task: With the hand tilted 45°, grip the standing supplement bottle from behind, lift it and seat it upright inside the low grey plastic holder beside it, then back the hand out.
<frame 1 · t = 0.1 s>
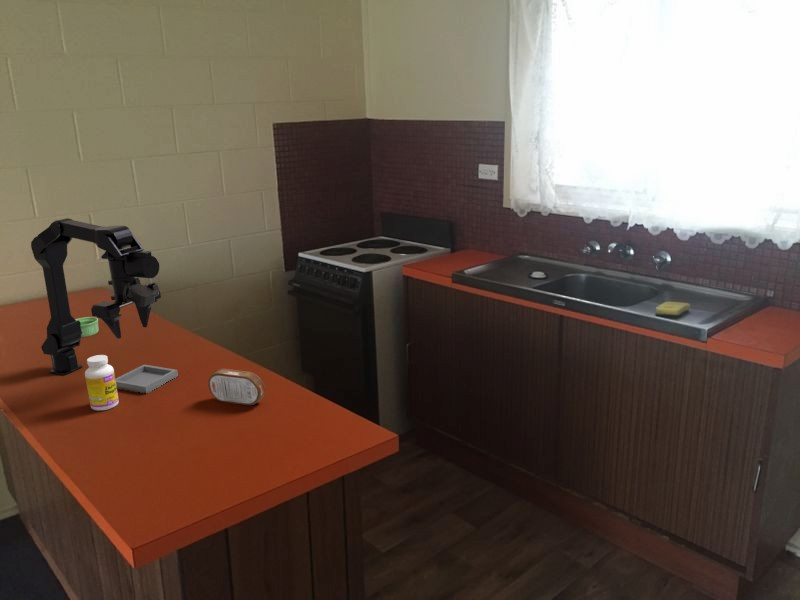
hand: (132, 332, 180), 15 cm above the counter, tool pointing down, fingers open, 9 cm apart
holder: (145, 382, 185), on the counter
ramekin: (85, 334, 226), on the counter
tin: (237, 403, 170), on the counter
supplement bottle: (105, 406, 171), on the counter
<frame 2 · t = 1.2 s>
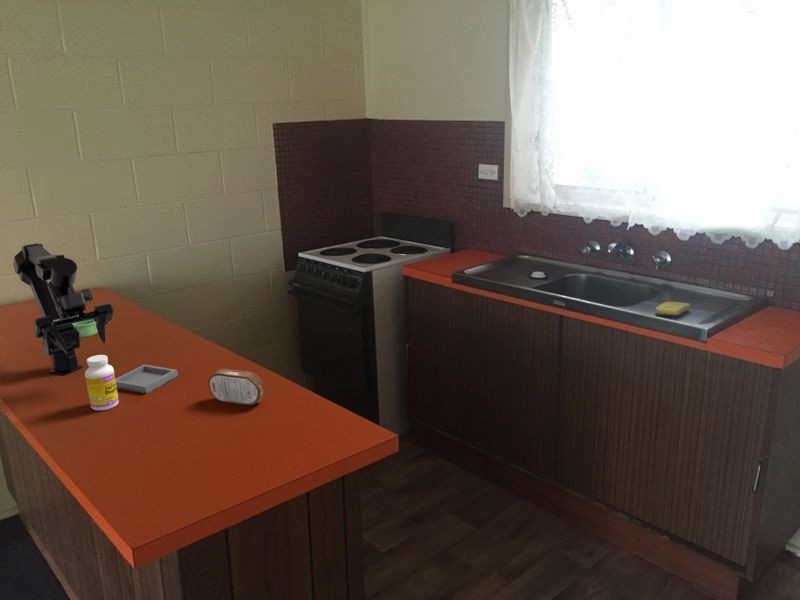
hand: (85, 347, 173), 14 cm above the counter, tool tilted 45°, fingers open, 9 cm apart
nothing on the counter moved.
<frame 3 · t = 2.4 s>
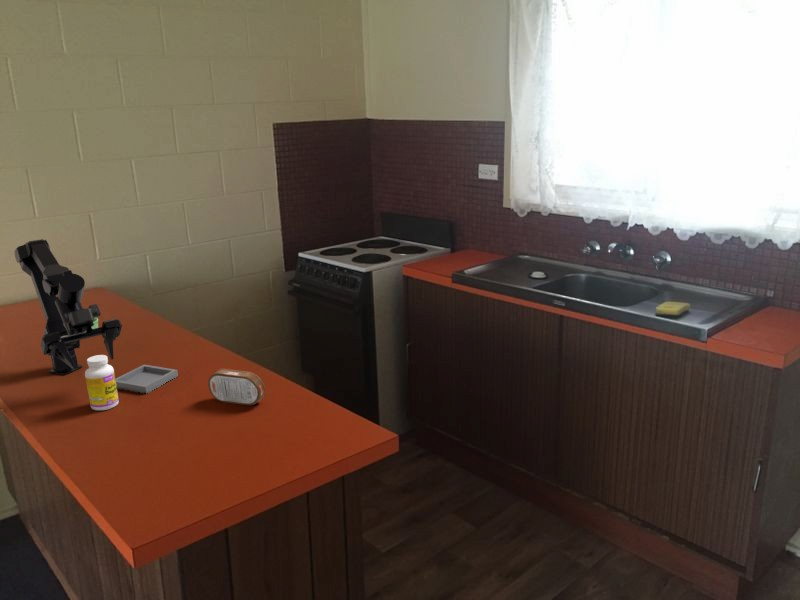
hand: (94, 364, 171), 10 cm above the counter, tool tilted 45°, fingers open, 9 cm apart
nothing on the counter moved.
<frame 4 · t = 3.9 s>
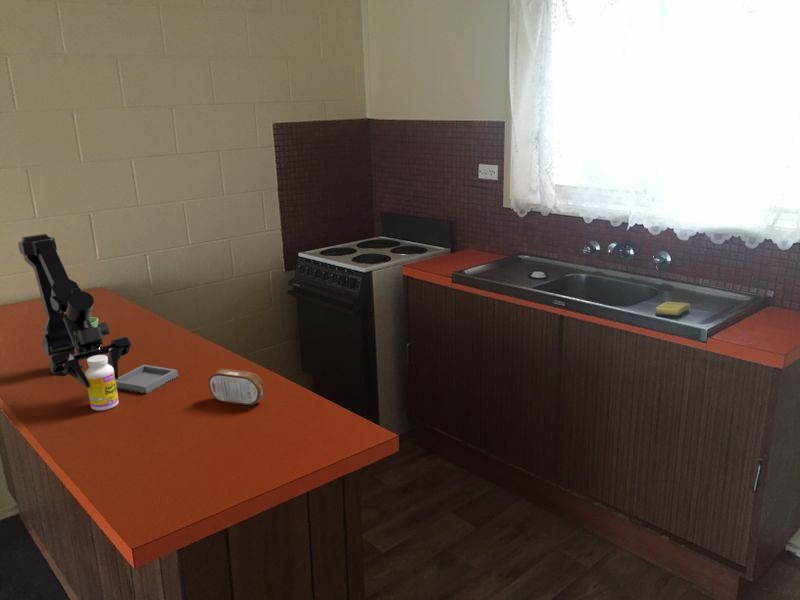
hand: (103, 383, 168), 7 cm above the counter, tool tilted 45°, fingers closed on supplement bottle, 7 cm apart
supplement bottle: (105, 406, 171), on the counter, touching gripper
everything else where it was.
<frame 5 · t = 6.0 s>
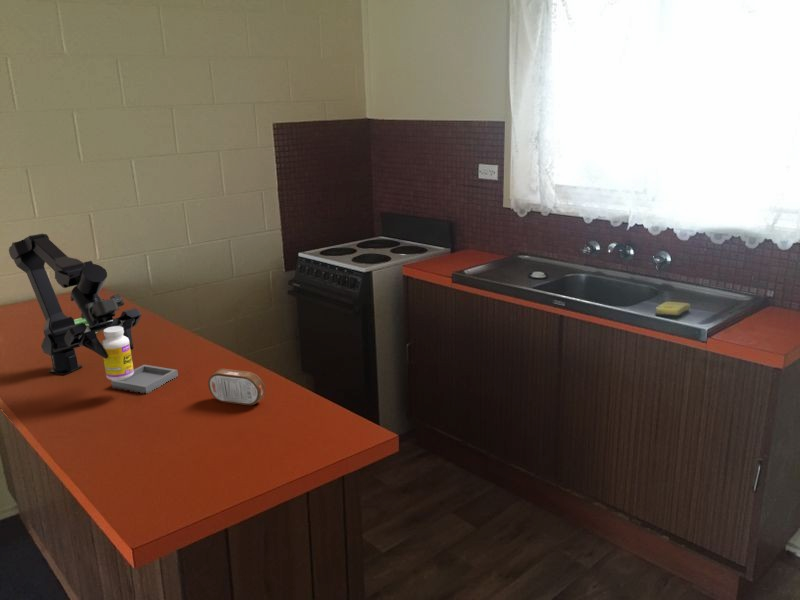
hand: (119, 353, 172), 12 cm above the counter, tool tilted 45°, fingers closed on supplement bottle, 7 cm apart
supplement bottle: (120, 376, 175), point 5 cm above the counter, touching gripper
everything else where it was.
when the fingers open (9 cm above the counter, at t = 8.2 s): supplement bottle drops 1 cm, resting on holder.
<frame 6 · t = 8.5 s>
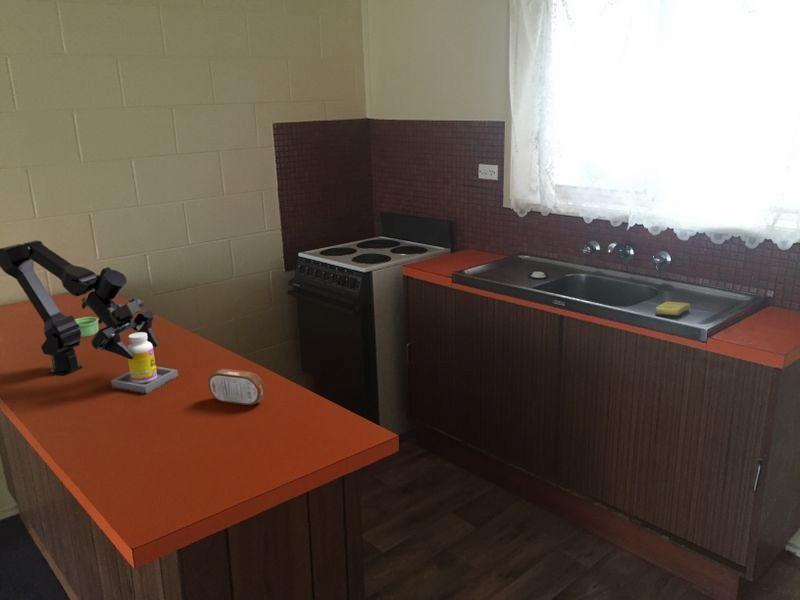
hand: (145, 352, 182), 9 cm above the counter, tool tilted 45°, fingers open, 9 cm apart
supplement bottle: (144, 380, 185), resting on holder
everything else where it was.
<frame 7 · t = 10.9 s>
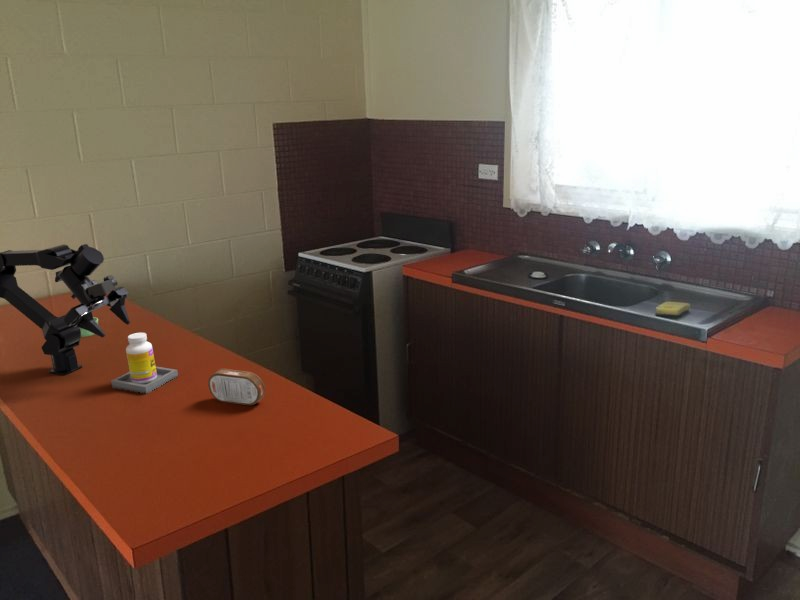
hand: (116, 330, 185), 14 cm above the counter, tool tilted 40°, fingers open, 9 cm apart
nothing on the counter moved.
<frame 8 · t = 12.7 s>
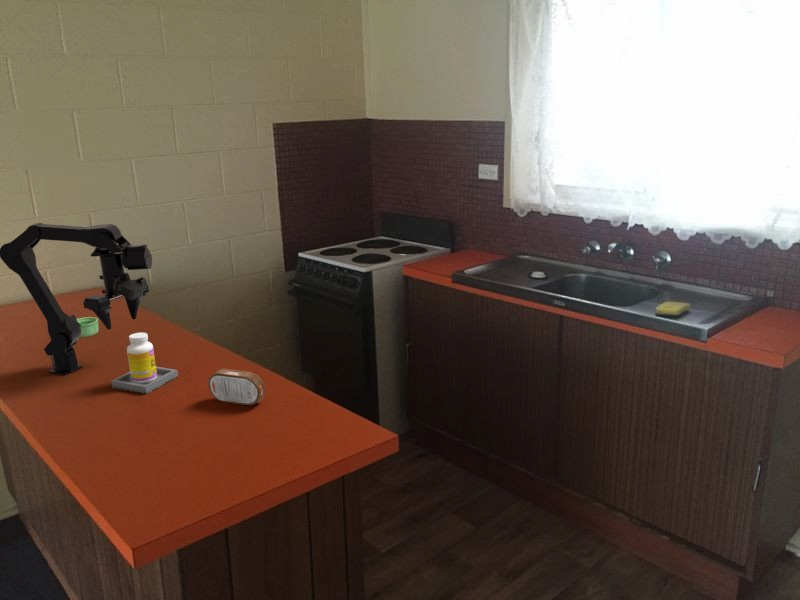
hand: (121, 324, 192), 13 cm above the counter, tool pointing down, fingers open, 9 cm apart
nothing on the counter moved.
at the end: supplement bottle 0.2 cm off-centre on the holder, point 0.4 cm above the holder's base; supplement bottle tilted 1°; the gripper is holding nothing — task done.
